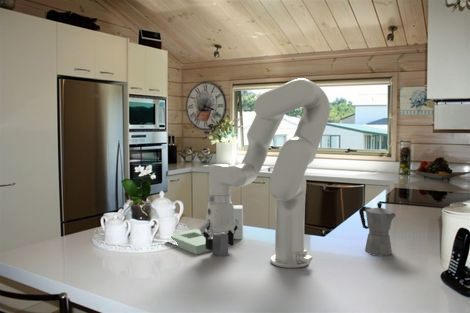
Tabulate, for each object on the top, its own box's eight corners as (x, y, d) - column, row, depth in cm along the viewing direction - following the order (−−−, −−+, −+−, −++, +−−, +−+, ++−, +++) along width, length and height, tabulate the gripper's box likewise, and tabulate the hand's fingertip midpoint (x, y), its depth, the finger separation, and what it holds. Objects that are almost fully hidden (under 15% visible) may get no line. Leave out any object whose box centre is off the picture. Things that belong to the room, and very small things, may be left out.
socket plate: (226, 246, 155) (226, 239, 155) (196, 254, 146) (196, 246, 146) (196, 236, 170) (196, 228, 170) (166, 242, 161) (166, 234, 161)
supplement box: (243, 234, 172) (243, 205, 172) (242, 239, 165) (242, 208, 164) (226, 234, 173) (225, 204, 172) (223, 239, 166) (223, 208, 165)
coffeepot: (402, 254, 146) (404, 204, 145) (385, 259, 141) (387, 207, 140) (366, 244, 159) (368, 197, 158) (350, 248, 154) (351, 200, 152)
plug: (228, 254, 146) (228, 234, 146) (220, 256, 144) (220, 236, 144) (220, 251, 150) (220, 232, 149) (212, 253, 147) (212, 234, 147)
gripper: (206, 203, 137) (206, 254, 138) (245, 197, 148) (245, 245, 150) (193, 200, 143) (193, 249, 144) (232, 195, 154) (231, 240, 155)
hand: (219, 246), depth 147 cm, fingers open, 9 cm apart
